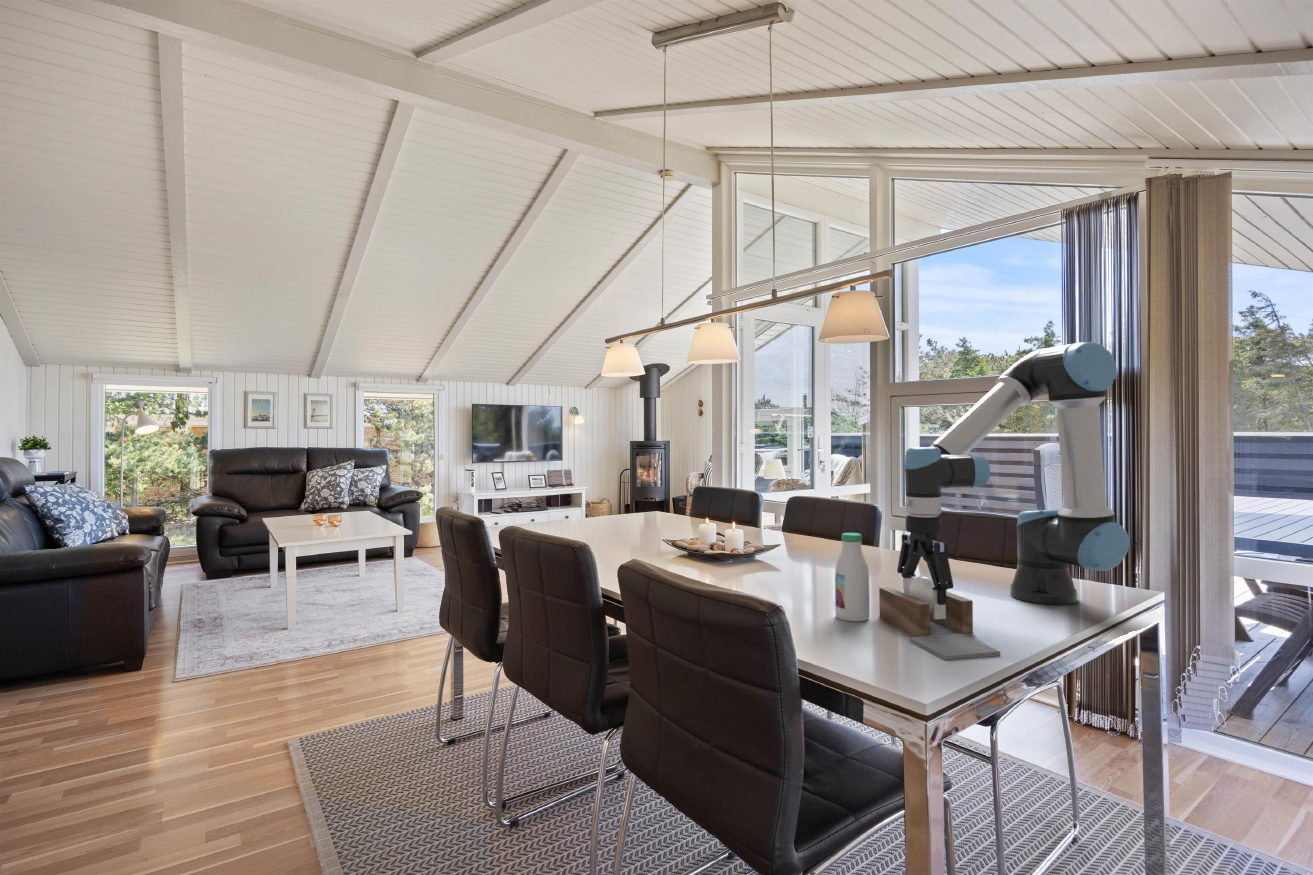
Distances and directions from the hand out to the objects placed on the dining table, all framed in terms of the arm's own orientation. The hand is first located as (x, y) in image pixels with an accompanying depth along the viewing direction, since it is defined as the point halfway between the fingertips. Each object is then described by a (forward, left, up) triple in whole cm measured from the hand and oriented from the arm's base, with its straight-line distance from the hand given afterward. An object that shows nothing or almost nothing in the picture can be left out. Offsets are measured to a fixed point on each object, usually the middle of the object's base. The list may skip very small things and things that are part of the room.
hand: (924, 611), depth 151 cm
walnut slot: (0, 0, -3) cm, 3 cm away
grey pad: (+4, +16, -3) cm, 17 cm away
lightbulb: (0, 0, -3) cm, 3 cm away
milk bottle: (+13, -9, -3) cm, 16 cm away
